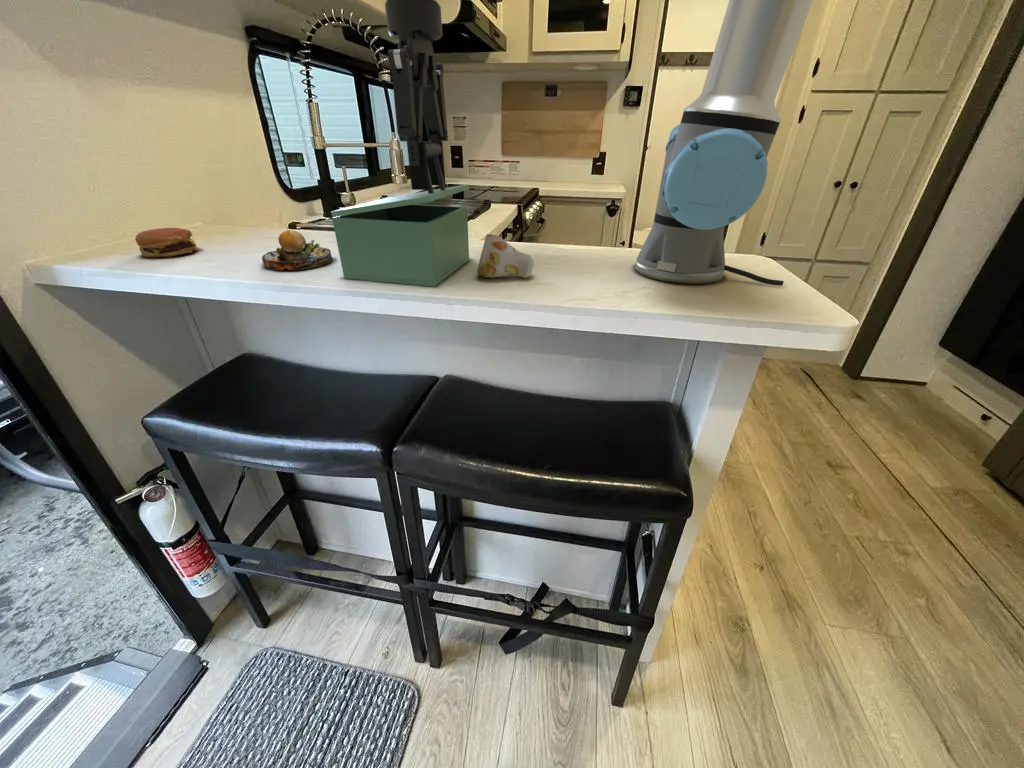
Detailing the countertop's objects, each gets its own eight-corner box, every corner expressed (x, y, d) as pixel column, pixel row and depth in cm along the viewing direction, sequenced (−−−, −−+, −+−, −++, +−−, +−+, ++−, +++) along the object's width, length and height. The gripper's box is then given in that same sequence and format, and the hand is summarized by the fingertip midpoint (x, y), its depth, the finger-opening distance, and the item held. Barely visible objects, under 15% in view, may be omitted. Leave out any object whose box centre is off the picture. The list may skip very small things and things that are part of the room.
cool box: (469, 259, 82) (467, 206, 77) (434, 286, 67) (428, 223, 62) (393, 253, 85) (386, 202, 80) (344, 278, 71) (331, 217, 66)
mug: (539, 284, 70) (512, 233, 64) (489, 304, 73) (459, 257, 67) (540, 262, 75) (515, 212, 69) (494, 281, 79) (466, 236, 73)
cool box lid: (469, 188, 75) (460, 138, 71) (430, 201, 61) (416, 139, 57) (386, 202, 80) (373, 156, 76) (332, 217, 66) (312, 160, 62)
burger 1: (136, 252, 83) (126, 228, 81) (190, 245, 89) (182, 222, 87) (148, 262, 78) (137, 236, 75) (205, 254, 84) (196, 229, 81)
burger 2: (343, 256, 83) (335, 216, 79) (313, 272, 73) (303, 228, 69) (286, 254, 84) (276, 214, 80) (249, 270, 74) (235, 226, 70)
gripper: (417, 18, 65) (431, 181, 77) (348, -20, 49) (379, 193, 61) (462, 15, 63) (469, 182, 75) (406, -24, 48) (426, 194, 60)
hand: (429, 187), depth 68 cm, fingers closed on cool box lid, 6 cm apart
